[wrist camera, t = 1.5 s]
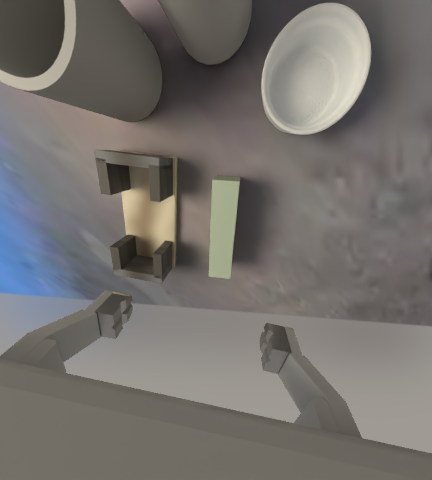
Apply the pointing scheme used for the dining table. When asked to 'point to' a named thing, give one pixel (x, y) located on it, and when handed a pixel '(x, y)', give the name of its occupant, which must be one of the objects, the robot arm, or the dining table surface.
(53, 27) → the cup
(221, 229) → the slat
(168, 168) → the grey and cream cradle
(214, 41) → the can
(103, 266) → the dining table surface
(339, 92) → the ramekin
